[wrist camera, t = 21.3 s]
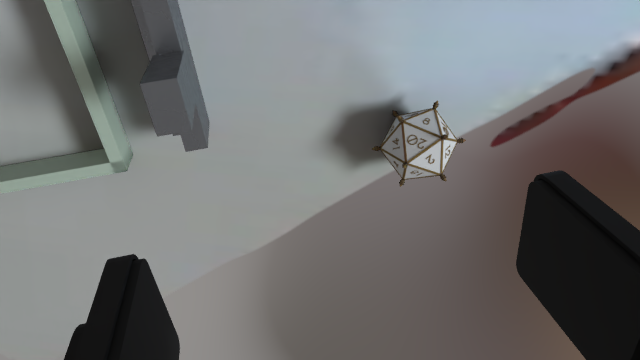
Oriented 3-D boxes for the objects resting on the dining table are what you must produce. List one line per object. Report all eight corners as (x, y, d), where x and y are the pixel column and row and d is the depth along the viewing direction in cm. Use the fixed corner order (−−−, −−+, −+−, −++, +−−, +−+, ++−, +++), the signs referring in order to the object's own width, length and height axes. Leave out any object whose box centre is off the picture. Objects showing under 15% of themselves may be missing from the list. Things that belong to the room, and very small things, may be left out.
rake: (175, 127, 47) (160, 196, 36) (129, -20, 39) (93, 10, 28) (211, 121, 47) (208, 187, 36) (173, -26, 40) (154, 1, 29)
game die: (381, 125, 55) (347, 166, 48) (422, 72, 49) (390, 110, 42) (439, 170, 55) (414, 219, 47) (487, 123, 49) (467, 170, 42)
